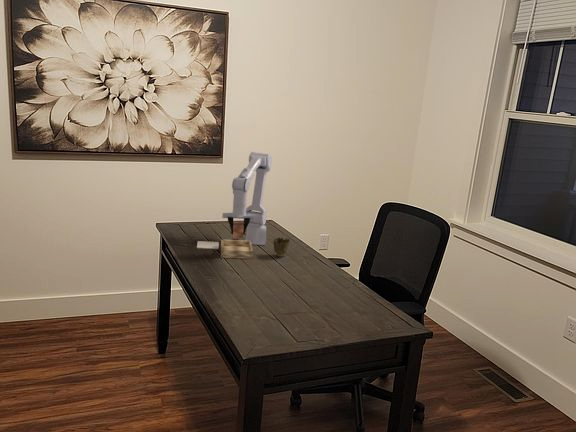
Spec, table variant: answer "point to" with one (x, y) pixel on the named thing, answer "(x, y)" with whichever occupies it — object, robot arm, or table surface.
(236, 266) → the table surface
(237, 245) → the organiser box
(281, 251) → the cup
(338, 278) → the table surface
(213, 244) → the grey mat
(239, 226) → the terracotta block
